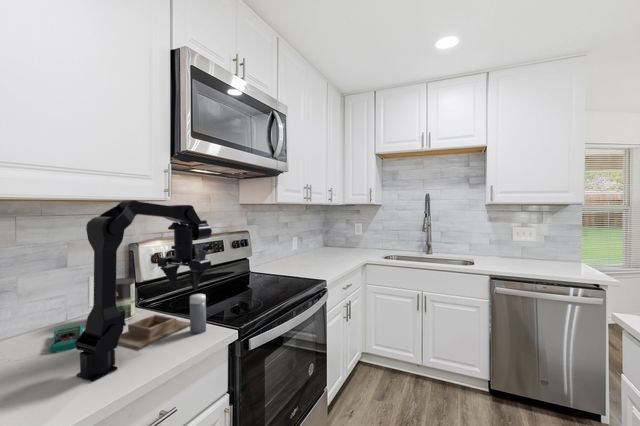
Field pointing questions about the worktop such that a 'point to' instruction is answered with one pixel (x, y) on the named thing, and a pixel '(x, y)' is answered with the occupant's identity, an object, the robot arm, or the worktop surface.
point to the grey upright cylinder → (197, 313)
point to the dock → (150, 331)
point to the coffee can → (126, 296)
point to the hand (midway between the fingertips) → (184, 288)
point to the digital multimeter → (65, 338)
